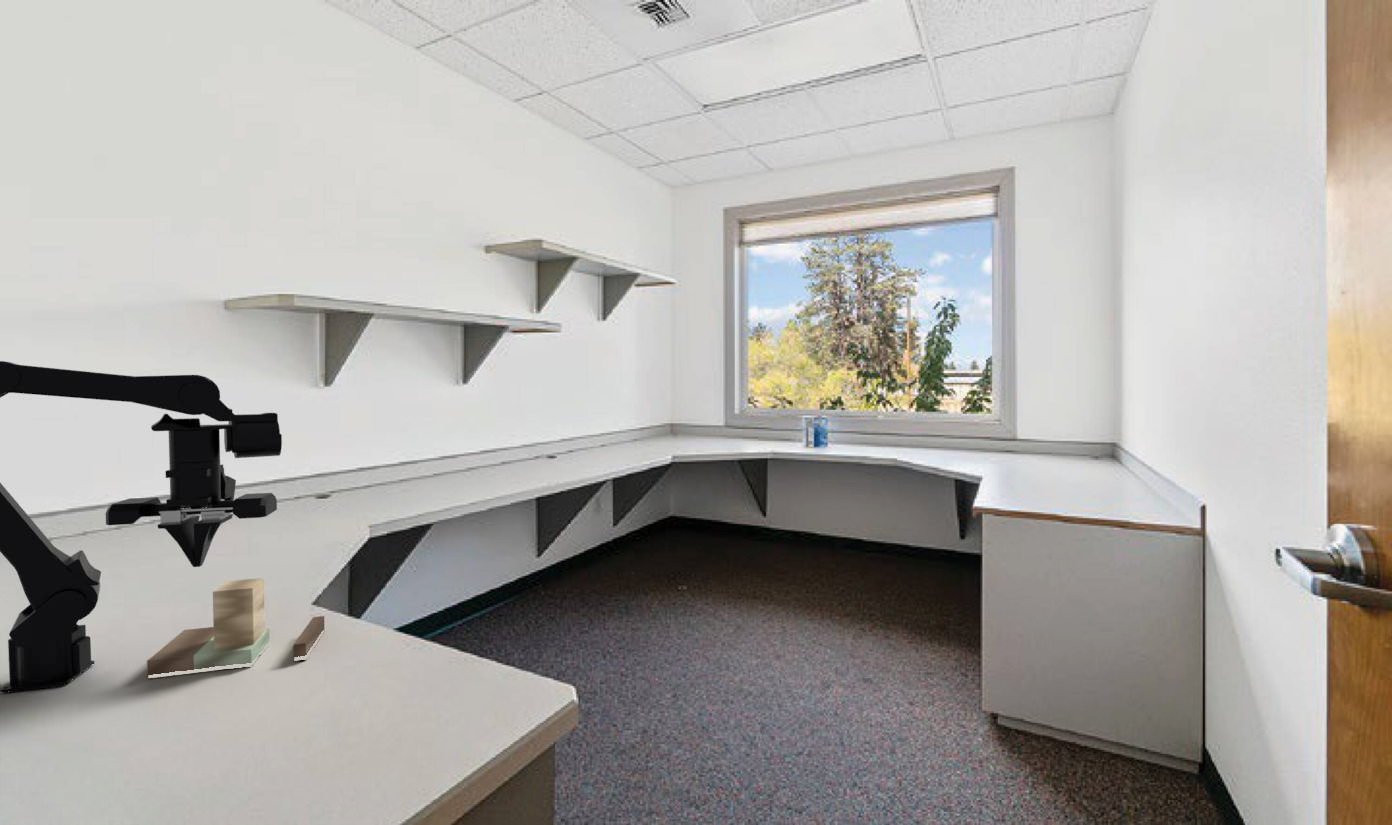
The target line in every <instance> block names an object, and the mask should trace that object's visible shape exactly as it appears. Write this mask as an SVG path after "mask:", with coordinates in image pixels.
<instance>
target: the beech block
mask: <svg viewBox="0 0 1392 825" xmlns="http://www.w3.org/2000/svg"><path fill="white" fill-rule="evenodd" d="M212 607H213V608H212V613H213V615H212V617H213V618H212V620H213V623H212V625H213V627H214V649H216V648H226V647H235V646H244V645H253V644H255V642H256V641H257V640H258V639H259V638H260V637H261V636H262V634H263V633H264V632H265V629H266V621H265V619H266V618H265V616H266V615H265V578H264V577H261V578H251V579H250V578H247V579H236V580H225V581H224V582H222V584H220V585H219V586H218V587H217V588H215V589H214V590H212Z"/></svg>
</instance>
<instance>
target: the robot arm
mask: <svg viewBox="0 0 1392 825" xmlns="http://www.w3.org/2000/svg"><path fill="white" fill-rule="evenodd" d="M220 391H221V390H220V388H219V387H218V385H217V384H216V383H215V382H214V381H213V380H212V379H210V378H208V377H206V376H203V375H199V374H180V375H179V374H175V375H174V374H173V375H146V376H144V375H141V376H140V375H137V376H134V375H133V376H132V375H124V374H123V375H122V374H112V373H105V372H103V373H102V372H93V371H84V370H73V369H63V368H62V369H61V368H55V367H54V368H52V367H43V366H32V365H25V364H23V365H22V364H17V363H14V362H10V361H5V360H0V399H1V398H2V397H4V396H6V395H8V394H23V395H38V396H48V397H49V396H50V397H51V396H52V397H61V398H63V397H64V398H75V399H76V398H77V399H87V400H88V399H90V400H101V401H110V402H111V401H112V402H113V401H114V402H127V403H133V404H138V405H143V406H149V407H152V408H157V409H161V410H165V411H171V412H175V413H181V414H183V415H184V414H185V415H188V416H189V415H190V416H198V415H199V416H201V415H205V416H207V417H210V418H211V419H213V420H215V421H217V422H228V424H225V423H224V424H201V421H200V418H198V417H195V418H192V417H191V418H173V417H172V416H170V415H169V414H168V413H163V415H162V416H161V418H160V419H159V420H157V421H156V422H154V423H153V424H152V425H151V428H150V429H151V430H152V432H168V458H169V469H167V470H165V478H166V479H169V492H170V493H169V495H170V496H169V498H167V499H166V500H165V501H166V502H162V501H161V500H160V499H159V497H138V498H137V497H135V498H134V497H133V498H127V499H124V500H121V501H118V502H114V503H112V504H111V505H110V506H109V507H108V508H107V510H106V512H105V525H106V526H120V525H121V526H123V525H133V524H135V523H136V522H137V521H139V520H140V519H141V518H145V517H146V518H147V517H160V523H158V524H157V529H162V530H164V529H165V530H166V532H167V533H168V534H169V535H170V536H171V537H172V539H173V540H174V541H175V542H176V543H177V544H178V546H179V547H180V549H181V551H182V552H183V554H184V555H185V557H186V558H187V559H188V562H189V563H190V565H191V566H192V567H193V568H200V567H202V566H203V564H204V563H205V560H206V558H207V554H208V553H209V551H210V550H209V549H210V546H211V544H212V542H213V539H214V537H215V535H216V533H217V532H218V530H219V528H220V527H221V525H222V524H223V523H224V524H225V523H226V522H228V521H229V520H231V519H232V518H233V516H235V517H236V518H238V519H256V518H264V517H265V518H267V516H269V515H271V514H272V513H274V512H276V511H277V510H278V499H277V497H276V495H274V493H272V492H260V493H257V492H256V493H245V494H242V495H241V496H239V497H237V498H235V493H236V485H237V480H236V479H234V478H232V477H230V476H229V475H226V474H225V467H224V464H221V450H220V448H221V446H220V444H221V441H220V439H221V438H220V430H223V437H224V439H223V442H224V451H225V453H230V452H231V453H232V454H233V455H234V459H241V458H243V459H244V458H260V457H262V458H263V457H279V456H281V452H282V445H283V443H282V442H283V439H282V437H283V435H282V434H281V433H280V432H281V431H280V425H279V420H278V419H279V418H278V417H279V416H278V413H277V412H263V413H256V414H255V413H252V414H251V413H250V414H244V413H243V414H234V412H233V409H232V408H230V407H228V406H227V405H226V404H225V403H224V402H223V401H222V400H221V399H220V398H221V392H220ZM200 518H201V519H200ZM0 553H1V555H2V556H3V557H4V558H5V559H6V560H7V561H8V563H10V565H11V566H12V567H13V568H14V570H15V571H16V573H17V576H18V578H19V581H20V584H21V587H22V591H23V592H24V594H25V597H26V598H27V601H28V602H29V605H27V606H26V607H25V608H24V609H23V610H21V611H20V612H19V613H18V616H17V618H16V620H15V621H14V623H13V624H12V628H11V630H10V632H9V634H8V635H9V637H10V638H8V640H7V644H8V646H7V648H8V673H9V674H8V675H9V682H8V683H7V684H5V685H3V686H2V687H0V692H5V693H13V692H12V691H14V692H20V691H19V690H22V691H28V690H31V691H32V690H38V689H46V688H45V687H48V688H53V686H56V687H61V686H60V685H63V686H65V685H64V684H66V685H68V684H69V683H71V682H72V681H73V680H72V679H74V678H75V677H76V678H77V676H78V675H79V674H80V673H81V672H83V671H84V670H86V669H87V668H89V667H90V666H91V665H92V664H94V665H95V660H92V648H91V644H92V643H91V641H92V640H91V637H90V636H89V635H87V629H86V628H87V627H86V624H78V621H81V620H83V619H84V618H86V617H87V616H89V615H90V614H91V613H92V612H93V611H94V610H95V608H96V607H97V604H98V601H99V595H100V590H101V582H100V581H101V580H100V579H101V574H102V571H101V570H99V569H97V568H95V567H94V566H93V565H91V563H90V562H89V560H88V558H87V556H86V554H85V552H84V550H78V551H77V552H76V553H74V554H73V555H71V556H70V555H68V554H67V553H65V552H63V551H62V550H60V549H58V548H57V547H56V546H54V544H53V543H52V542H51V541H50V539H49V538H48V537H47V536H46V535H45V533H43V531H42V530H41V529H40V527H38V526H37V525H36V522H34V521H33V519H31V517H30V516H29V515H28V513H27V512H26V511H25V510H24V509H23V508H22V506H20V504H19V503H18V501H17V500H16V499H15V498H14V497H13V496H12V494H10V493H9V491H8V490H7V488H6V487H5V486H4V485H3V484H2V483H1V482H0ZM91 667H92V666H91ZM91 667H90V668H91ZM90 668H89V669H90ZM87 670H88V669H87ZM87 670H86V671H87ZM83 673H84V672H83ZM80 675H81V674H80ZM80 675H79V676H80ZM79 676H78V677H79ZM76 678H75V679H76ZM75 679H74V680H75ZM71 680H72V681H71ZM70 681H71V682H70ZM68 682H69V683H68ZM67 683H68V684H67ZM8 691H9V692H8Z"/></svg>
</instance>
